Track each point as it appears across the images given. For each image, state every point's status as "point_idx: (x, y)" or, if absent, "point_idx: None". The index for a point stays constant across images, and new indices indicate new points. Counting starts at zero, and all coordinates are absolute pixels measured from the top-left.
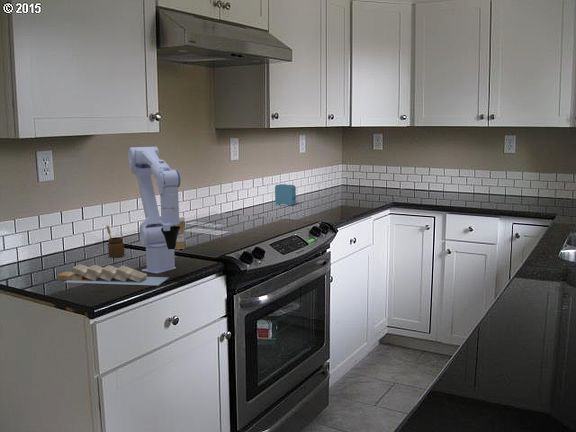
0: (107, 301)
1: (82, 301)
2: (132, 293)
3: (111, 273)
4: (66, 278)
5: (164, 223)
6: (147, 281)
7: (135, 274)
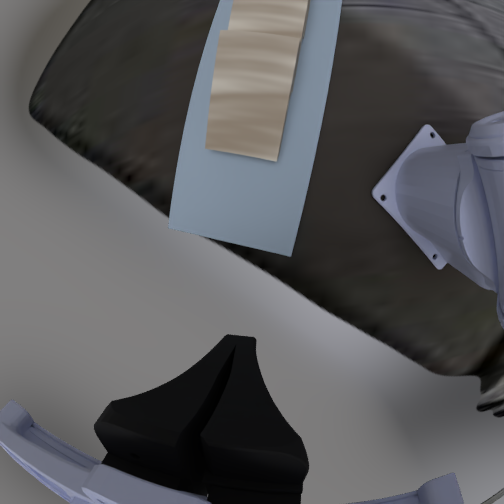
0: (50, 119)
1: (61, 59)
2: (99, 156)
3: (231, 19)
4: None
5: (27, 466)
6: (227, 172)
7: (225, 116)
